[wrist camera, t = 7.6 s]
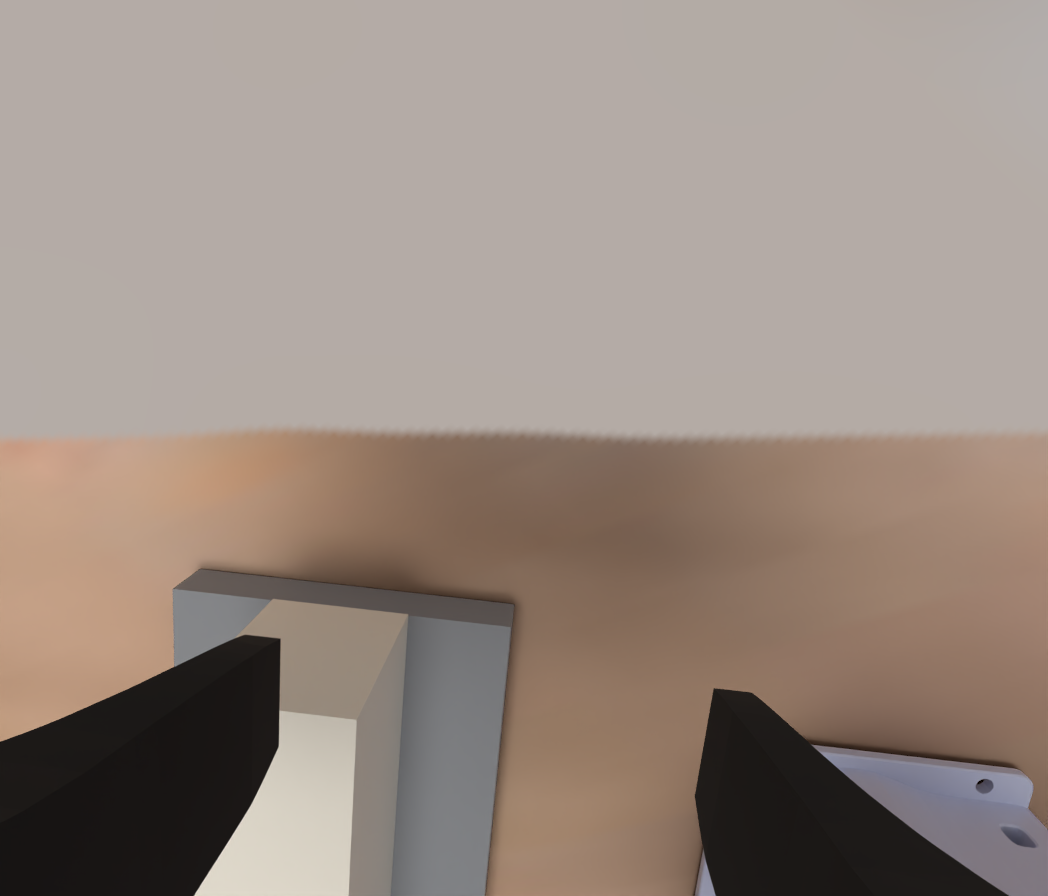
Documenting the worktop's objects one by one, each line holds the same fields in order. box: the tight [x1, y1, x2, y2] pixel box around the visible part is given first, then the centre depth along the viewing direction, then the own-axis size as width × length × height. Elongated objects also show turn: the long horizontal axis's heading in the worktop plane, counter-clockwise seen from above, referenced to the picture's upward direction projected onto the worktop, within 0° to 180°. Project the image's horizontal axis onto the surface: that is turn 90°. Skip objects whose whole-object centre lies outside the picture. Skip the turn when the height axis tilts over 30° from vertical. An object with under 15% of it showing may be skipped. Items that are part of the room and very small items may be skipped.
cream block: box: [194, 599, 408, 896], centre depth 18 cm, size 4×11×5 cm, turn 174°
